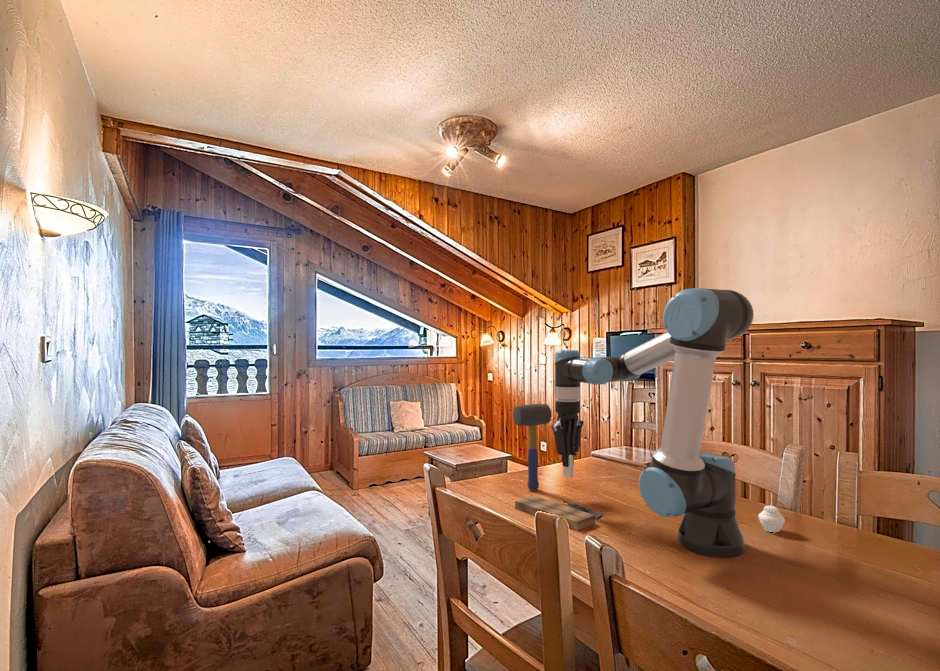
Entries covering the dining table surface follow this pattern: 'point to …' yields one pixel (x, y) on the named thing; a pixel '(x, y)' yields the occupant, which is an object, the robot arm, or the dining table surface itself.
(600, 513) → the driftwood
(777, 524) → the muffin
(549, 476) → the dining table surface
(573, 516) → the floorboard
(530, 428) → the rubber mallet
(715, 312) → the robot arm
